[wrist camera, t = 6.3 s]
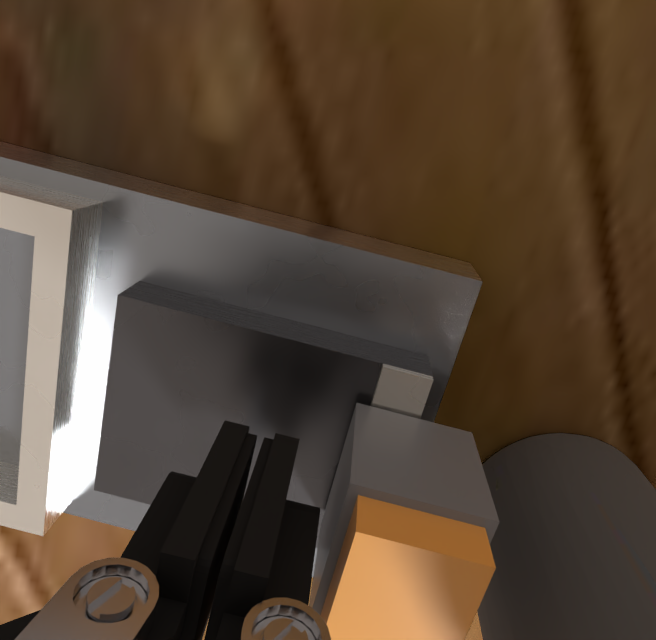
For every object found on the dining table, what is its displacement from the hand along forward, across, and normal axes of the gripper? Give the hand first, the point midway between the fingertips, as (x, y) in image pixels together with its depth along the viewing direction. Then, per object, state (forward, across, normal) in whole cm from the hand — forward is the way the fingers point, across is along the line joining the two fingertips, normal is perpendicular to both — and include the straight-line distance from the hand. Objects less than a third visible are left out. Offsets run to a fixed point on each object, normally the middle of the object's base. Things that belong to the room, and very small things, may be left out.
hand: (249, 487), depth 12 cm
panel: (+6, +5, 0) cm, 8 cm away
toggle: (+2, -3, 0) cm, 4 cm away
